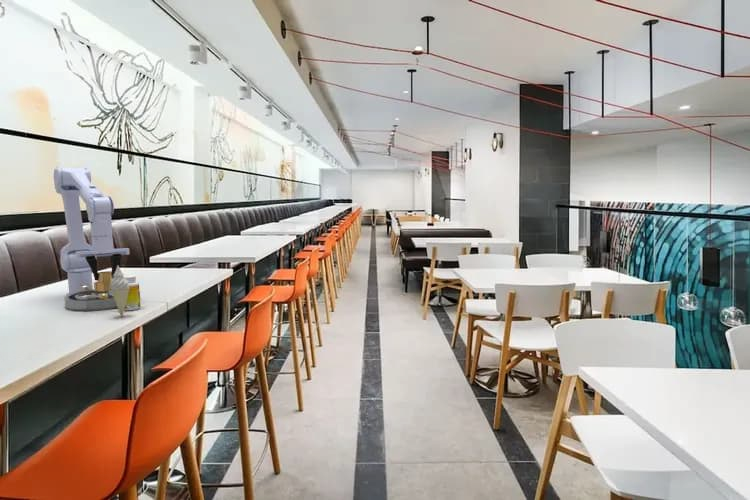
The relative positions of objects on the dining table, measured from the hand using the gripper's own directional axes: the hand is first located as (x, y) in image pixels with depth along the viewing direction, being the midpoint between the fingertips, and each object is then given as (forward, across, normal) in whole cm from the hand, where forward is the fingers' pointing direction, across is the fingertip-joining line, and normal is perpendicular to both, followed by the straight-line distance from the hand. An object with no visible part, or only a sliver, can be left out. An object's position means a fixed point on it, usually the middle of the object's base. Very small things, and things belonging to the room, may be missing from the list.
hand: (105, 279), depth 155 cm
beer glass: (+9, +5, -8) cm, 13 cm away
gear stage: (+9, 0, +6) cm, 10 cm away
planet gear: (+3, 0, 0) cm, 3 cm away
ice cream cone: (+9, +1, -16) cm, 19 cm away
